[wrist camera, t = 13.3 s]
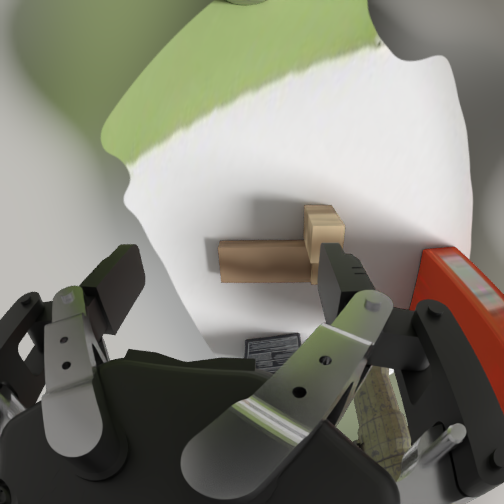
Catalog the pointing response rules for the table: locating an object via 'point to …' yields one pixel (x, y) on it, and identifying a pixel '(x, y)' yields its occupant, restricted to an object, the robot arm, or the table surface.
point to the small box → (272, 351)
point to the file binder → (467, 306)
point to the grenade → (381, 422)
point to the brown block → (264, 261)
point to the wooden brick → (320, 232)
